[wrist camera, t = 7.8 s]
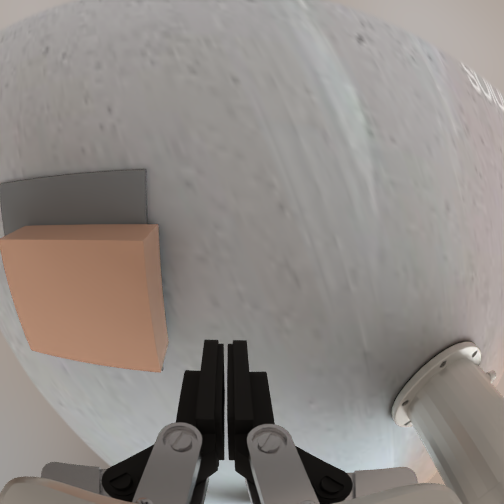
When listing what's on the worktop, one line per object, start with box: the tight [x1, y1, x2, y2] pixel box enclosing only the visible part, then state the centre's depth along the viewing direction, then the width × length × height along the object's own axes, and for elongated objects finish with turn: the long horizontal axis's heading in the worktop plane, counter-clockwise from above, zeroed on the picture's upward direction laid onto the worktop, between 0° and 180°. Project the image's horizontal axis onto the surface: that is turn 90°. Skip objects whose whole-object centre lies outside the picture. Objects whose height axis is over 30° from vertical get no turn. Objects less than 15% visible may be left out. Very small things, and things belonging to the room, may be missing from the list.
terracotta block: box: [0, 224, 169, 372], centre depth 14 cm, size 3×8×10 cm
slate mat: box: [0, 169, 163, 371], centre depth 16 cm, size 12×14×1 cm
